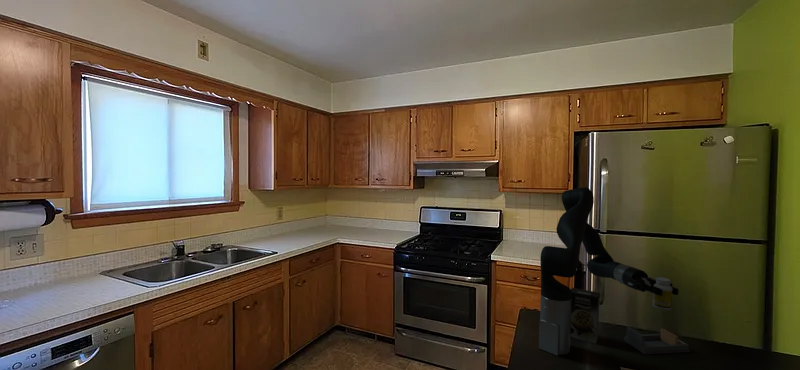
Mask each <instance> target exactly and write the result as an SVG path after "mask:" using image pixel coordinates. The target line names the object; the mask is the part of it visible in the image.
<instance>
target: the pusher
mask: <svg viewBox="0 0 800 370" xmlns="http://www.w3.org/2000/svg"><path fill="white" fill-rule="evenodd" d="M660 334H661V336H660V340H662V341H664V342H666V343H667V344H669V345H676V344H678V340H679V336H678V335H676V334H674V333H672V332H670V331H668V330H666V329H665V328H660Z"/></svg>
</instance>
